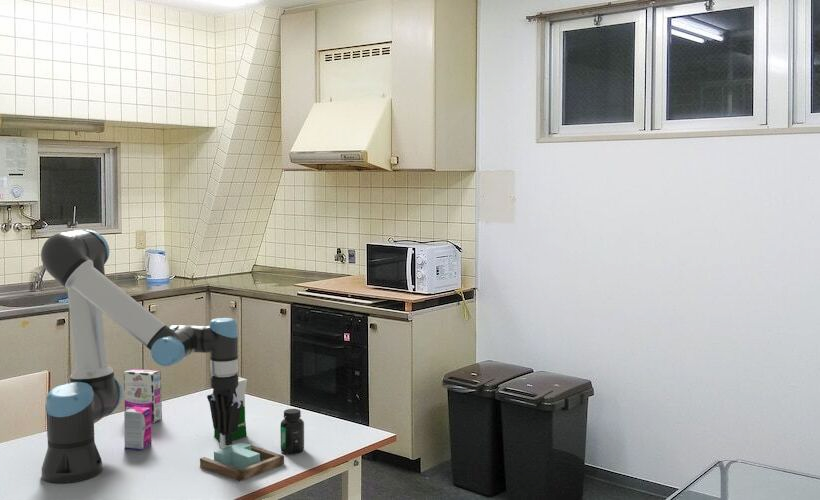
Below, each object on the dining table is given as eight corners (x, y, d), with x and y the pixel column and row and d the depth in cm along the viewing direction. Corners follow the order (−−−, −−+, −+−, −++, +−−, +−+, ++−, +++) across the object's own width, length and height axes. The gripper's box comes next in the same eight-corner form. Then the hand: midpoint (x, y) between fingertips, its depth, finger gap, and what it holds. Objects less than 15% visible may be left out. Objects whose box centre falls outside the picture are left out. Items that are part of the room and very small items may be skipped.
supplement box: (142, 451, 234) (141, 412, 233) (124, 449, 235) (122, 411, 234) (152, 444, 240) (151, 406, 239) (134, 442, 241) (133, 405, 240)
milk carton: (231, 430, 254) (230, 367, 252) (251, 435, 248) (250, 372, 246) (209, 437, 247) (208, 373, 245) (229, 443, 241) (228, 378, 239)
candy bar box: (162, 419, 264) (161, 370, 262) (153, 424, 259) (152, 374, 257) (133, 416, 267) (132, 367, 265) (124, 420, 262) (122, 371, 261)
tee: (240, 475, 217) (240, 460, 216) (214, 465, 223) (213, 451, 223) (268, 464, 224) (268, 450, 224) (241, 455, 231) (241, 442, 231)
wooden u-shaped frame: (239, 481, 212) (239, 472, 212) (200, 467, 222) (199, 458, 222) (284, 464, 224) (284, 455, 224) (244, 451, 234) (244, 443, 234)
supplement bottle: (282, 455, 231) (281, 415, 230) (279, 448, 238) (279, 408, 236) (305, 453, 233) (305, 413, 232) (302, 446, 239) (302, 406, 238)
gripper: (250, 374, 224) (251, 456, 226) (220, 367, 232) (221, 446, 234) (229, 380, 218) (230, 464, 220) (198, 372, 226) (200, 453, 228)
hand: (225, 455), depth 227 cm, fingers closed
